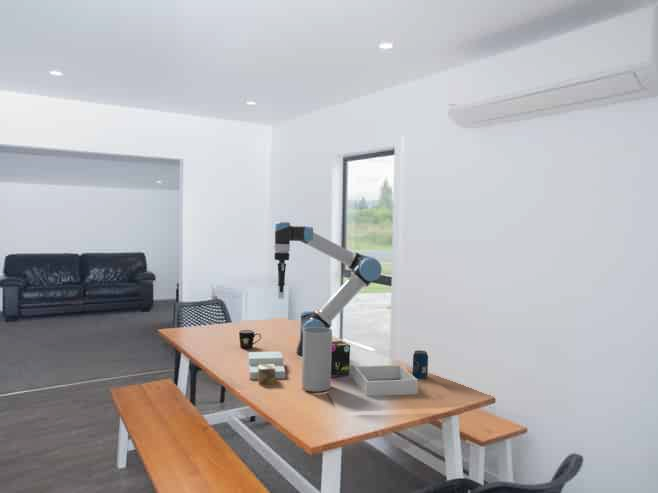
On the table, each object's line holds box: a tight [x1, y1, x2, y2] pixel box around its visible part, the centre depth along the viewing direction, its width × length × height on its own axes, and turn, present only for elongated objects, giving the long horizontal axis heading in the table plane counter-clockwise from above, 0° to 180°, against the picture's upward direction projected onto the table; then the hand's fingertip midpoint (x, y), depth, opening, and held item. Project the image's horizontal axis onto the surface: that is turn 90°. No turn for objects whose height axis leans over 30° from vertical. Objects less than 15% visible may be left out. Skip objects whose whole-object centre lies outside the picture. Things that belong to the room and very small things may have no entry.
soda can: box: [412, 350, 429, 380], centre depth 226 cm, size 7×7×12 cm
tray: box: [352, 364, 419, 397], centre depth 211 cm, size 22×22×6 cm
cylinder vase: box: [301, 327, 333, 393], centre depth 207 cm, size 12×12×25 cm
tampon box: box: [331, 340, 351, 379], centre depth 227 cm, size 11×9×15 cm
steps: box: [247, 351, 286, 380], centre depth 229 cm, size 16×23×6 cm
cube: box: [257, 364, 276, 386], centre depth 213 cm, size 7×7×7 cm
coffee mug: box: [238, 329, 262, 350], centre depth 269 cm, size 12×9×10 cm
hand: (280, 298), depth 246 cm, fingers closed
